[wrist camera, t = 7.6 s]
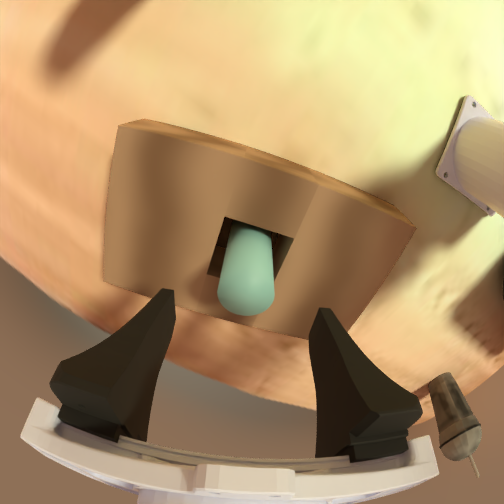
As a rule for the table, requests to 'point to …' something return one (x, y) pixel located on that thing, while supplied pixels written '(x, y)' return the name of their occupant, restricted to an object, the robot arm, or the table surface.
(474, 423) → the beverage cup
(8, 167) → the table surface
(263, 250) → the peg
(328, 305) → the hole block
